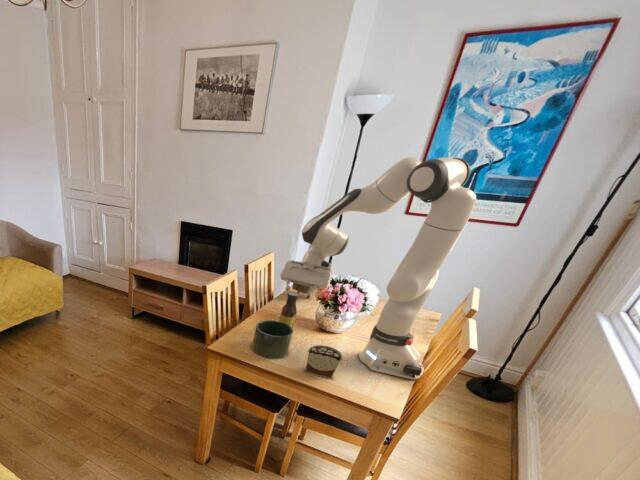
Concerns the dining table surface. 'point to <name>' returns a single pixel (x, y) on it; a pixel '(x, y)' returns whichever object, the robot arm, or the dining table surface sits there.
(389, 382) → the dining table surface
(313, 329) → the dining table surface
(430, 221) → the robot arm
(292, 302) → the sauce bottle
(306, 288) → the tabletop clock
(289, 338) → the bottle cooler
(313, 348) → the food container
